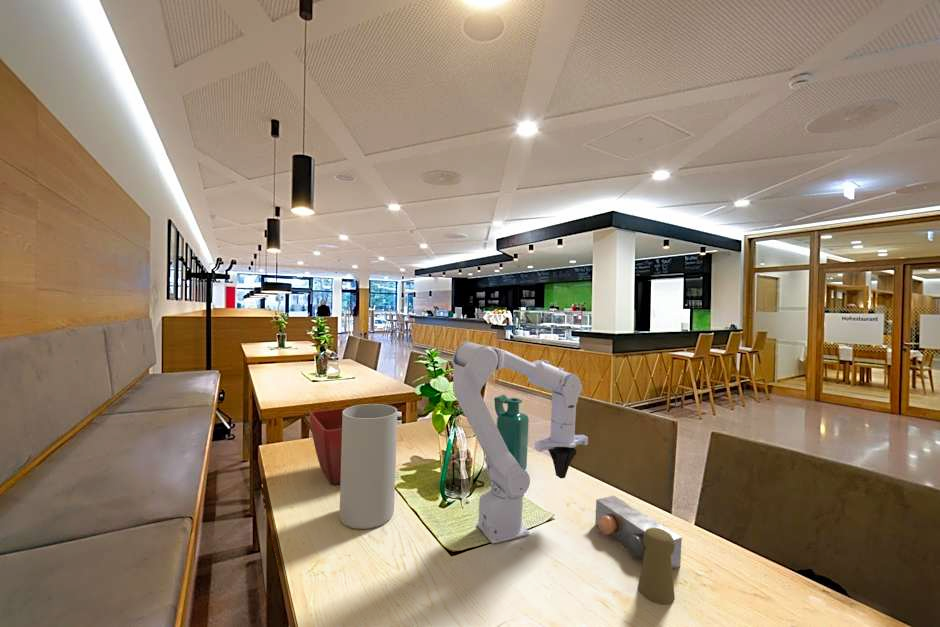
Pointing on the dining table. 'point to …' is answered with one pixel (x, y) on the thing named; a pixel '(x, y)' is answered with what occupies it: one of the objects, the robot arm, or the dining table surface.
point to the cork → (657, 567)
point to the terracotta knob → (607, 524)
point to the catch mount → (633, 524)
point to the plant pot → (328, 441)
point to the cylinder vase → (368, 465)
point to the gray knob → (635, 545)
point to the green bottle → (513, 428)
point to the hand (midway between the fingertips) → (560, 476)
